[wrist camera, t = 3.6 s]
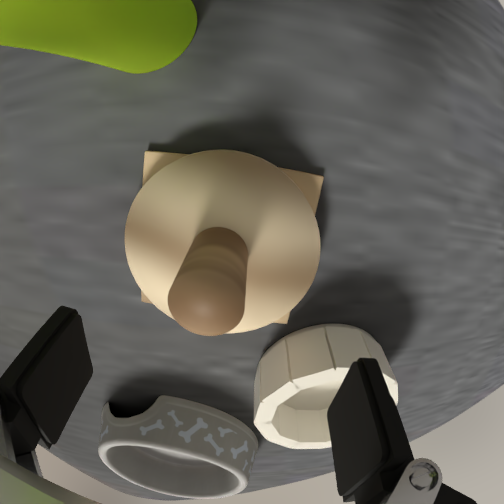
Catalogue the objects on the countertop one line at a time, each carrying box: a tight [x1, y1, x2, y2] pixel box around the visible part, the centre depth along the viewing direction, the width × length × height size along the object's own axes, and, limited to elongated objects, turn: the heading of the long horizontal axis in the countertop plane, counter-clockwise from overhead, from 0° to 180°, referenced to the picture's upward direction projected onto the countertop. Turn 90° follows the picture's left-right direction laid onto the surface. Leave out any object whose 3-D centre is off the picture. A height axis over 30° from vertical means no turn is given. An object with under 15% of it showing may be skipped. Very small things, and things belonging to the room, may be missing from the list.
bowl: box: [254, 323, 398, 449], centre depth 21 cm, size 10×10×4 cm
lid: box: [125, 149, 321, 336], centre depth 15 cm, size 11×11×6 cm
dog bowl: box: [98, 395, 258, 499], centre depth 26 cm, size 17×18×5 cm
